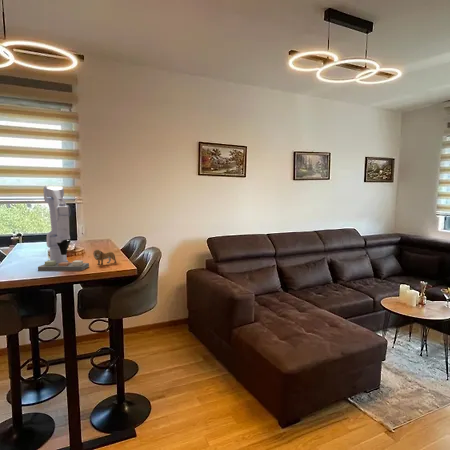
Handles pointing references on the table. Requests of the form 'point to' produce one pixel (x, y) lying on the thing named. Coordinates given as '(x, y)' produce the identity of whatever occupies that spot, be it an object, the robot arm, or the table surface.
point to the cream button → (77, 263)
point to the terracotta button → (64, 263)
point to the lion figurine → (103, 256)
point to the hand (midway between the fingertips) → (63, 254)
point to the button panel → (63, 267)
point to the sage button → (50, 263)
